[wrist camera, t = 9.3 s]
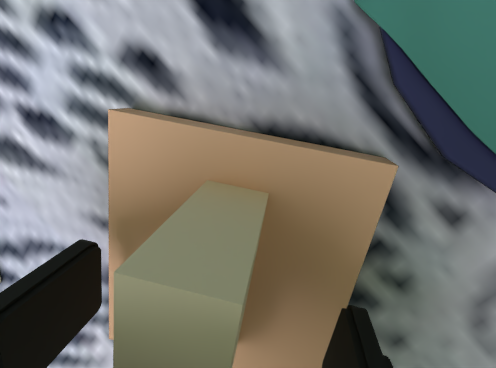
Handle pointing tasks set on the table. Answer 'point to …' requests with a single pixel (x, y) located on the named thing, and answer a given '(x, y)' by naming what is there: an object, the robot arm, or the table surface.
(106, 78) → the table surface
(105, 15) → the table surface
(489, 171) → the cutlery set
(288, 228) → the light switch
